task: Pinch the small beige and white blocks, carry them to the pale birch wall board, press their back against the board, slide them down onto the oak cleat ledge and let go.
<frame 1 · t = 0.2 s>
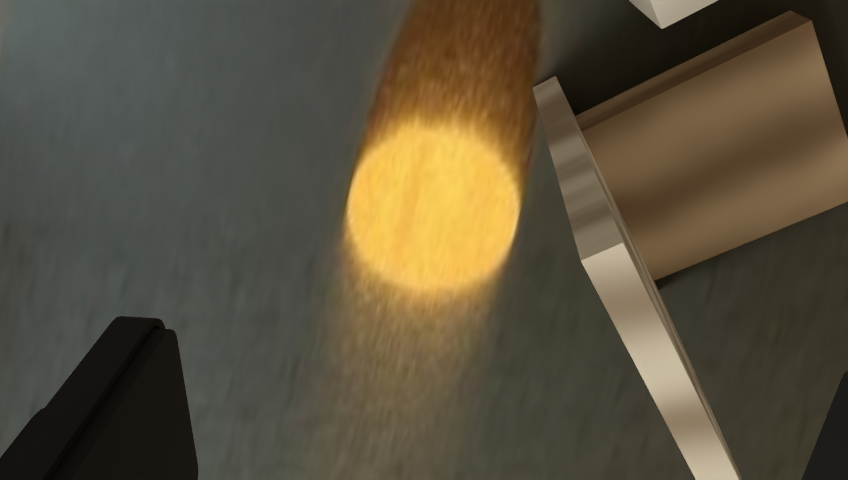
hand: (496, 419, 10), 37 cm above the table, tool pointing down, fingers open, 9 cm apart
wall board: (722, 140, 46), on the table
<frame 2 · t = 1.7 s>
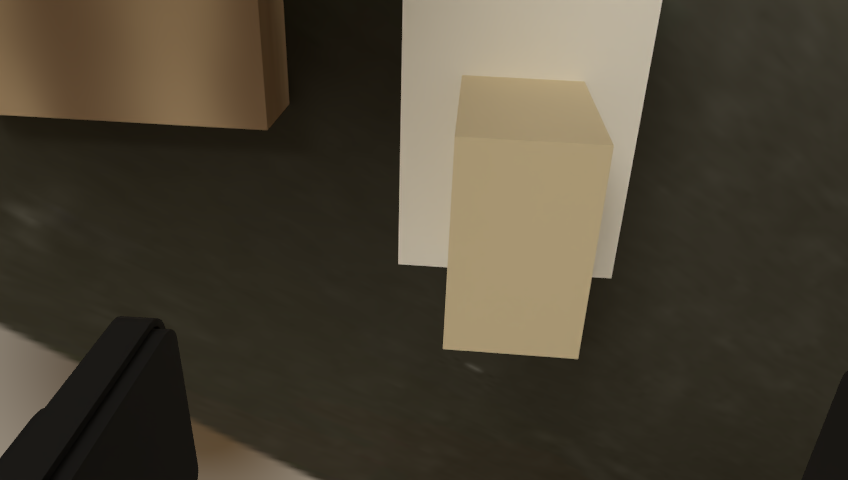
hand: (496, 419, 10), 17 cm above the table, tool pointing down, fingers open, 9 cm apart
beige and white blocks: (511, 32, 25), on the table
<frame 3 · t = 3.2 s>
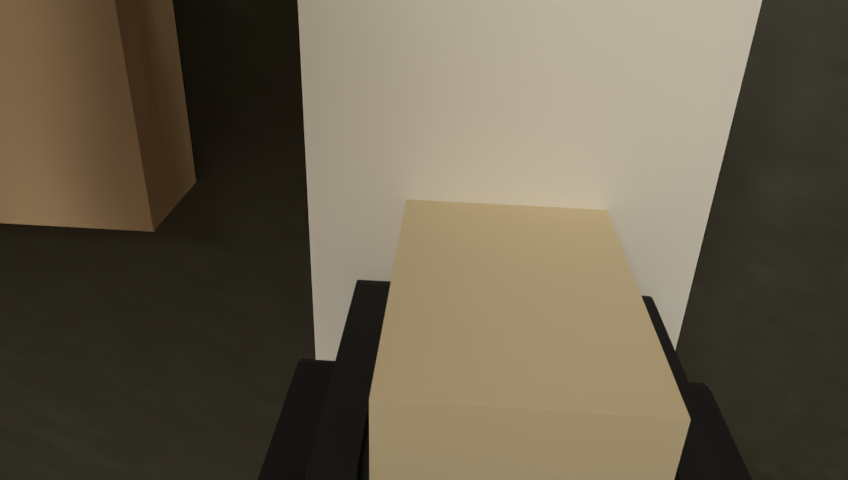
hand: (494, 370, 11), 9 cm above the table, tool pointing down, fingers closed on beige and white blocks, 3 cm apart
beige and white blocks: (489, 88, 18), on the table, touching gripper
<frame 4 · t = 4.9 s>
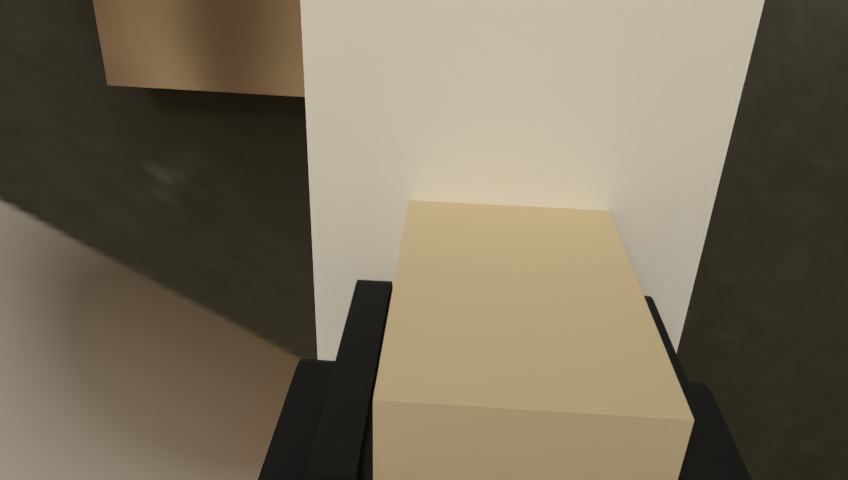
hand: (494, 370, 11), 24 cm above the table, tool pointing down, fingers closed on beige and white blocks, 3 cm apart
beige and white blocks: (490, 88, 18), point 15 cm above the table, touching gripper
when the fingers open (13 cm above the table, at t = 8.2 s): beige and white blocks stays where it is, resting on wall board.
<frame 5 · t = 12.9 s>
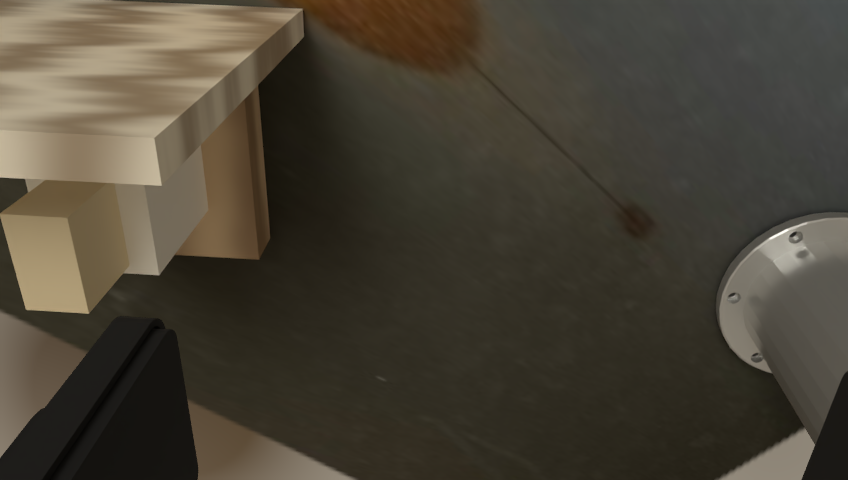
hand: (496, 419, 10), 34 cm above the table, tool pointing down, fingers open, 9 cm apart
beige and white blocks: (149, 131, 42), point 3 cm above the table, touching wall board
wall board: (172, 151, 46), on the table
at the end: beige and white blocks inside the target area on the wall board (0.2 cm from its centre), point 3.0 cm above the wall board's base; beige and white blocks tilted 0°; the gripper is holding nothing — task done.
